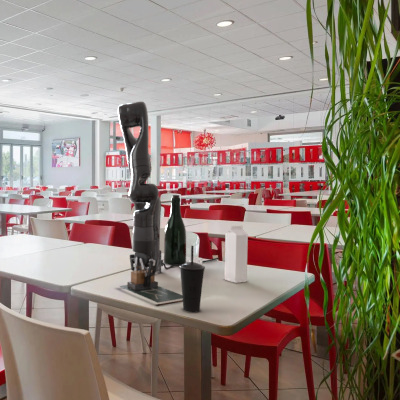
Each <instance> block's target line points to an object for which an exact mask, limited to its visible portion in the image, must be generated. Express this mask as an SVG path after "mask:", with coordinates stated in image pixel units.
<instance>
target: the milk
mask: <svg viewBox="0 0 400 400" xmlns="http://www.w3.org/2000/svg"><path fill="white" fill-rule="evenodd" d="M248 238H249V235H248V233H247V232H246V231H245V230H244V229H243V225H231V226H230V230H229V231H227V232H225V238H224V239H225V240H224V280H225V281H227V282H231V283H233V284H238V283H246V282H247V281H248V249H249V247H248V244H249V242H248V241H249V239H248Z"/></svg>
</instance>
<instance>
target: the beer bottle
mask: <svg viewBox="0 0 400 400" xmlns="http://www.w3.org/2000/svg"><path fill="white" fill-rule="evenodd" d="M169 213H170V214H169V217H168V219H167V222H166V225H165V229H164V238H163V239H164V240H163V241H164V242H163V245H164V246H163V263H164V264H165V265H170V266H172V265H175V264H183V263H187V230H186V226H185V222H184V220H183V217H182V212H181V197H180V195H179V194H172V195H171V198H170V212H169Z"/></svg>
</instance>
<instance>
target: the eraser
mask: <svg viewBox="0 0 400 400" xmlns="http://www.w3.org/2000/svg"><path fill="white" fill-rule="evenodd" d="M151 272H152V270H151ZM147 273H148V270H147ZM155 276H156V274H155V275H154V276H151V285H150V287H145V286H144V277H145V276H144V271H143V270H138V271H132V270H131V271H130V281H127V283H126V285H127V288H130V289H132V290H135V291H137V290H144V289H151V288H158V286H159V282H158V281H156V279H155Z"/></svg>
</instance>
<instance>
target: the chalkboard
mask: <svg viewBox="0 0 400 400" xmlns="http://www.w3.org/2000/svg"><path fill="white" fill-rule="evenodd" d="M118 287H119V288H122V289H124V290H127V291H128V292H131V293H134V294H136V295H139V296H141V297H142V298H146V299H147V300H150V301H152V302H155V303H157V304H155V306H156V307H159V306H165V305H166V306H167V305H172V304H177V303H183V297H182V293H181V294H180V293H178V292H176V291H173V290H170V289H167V288H164V287H162V286H159V285H158V288H151V289H144V290H137V291H135V290H132V289H130V288H127V284H124V285H119V286H118ZM180 299H181V300H180Z"/></svg>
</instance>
